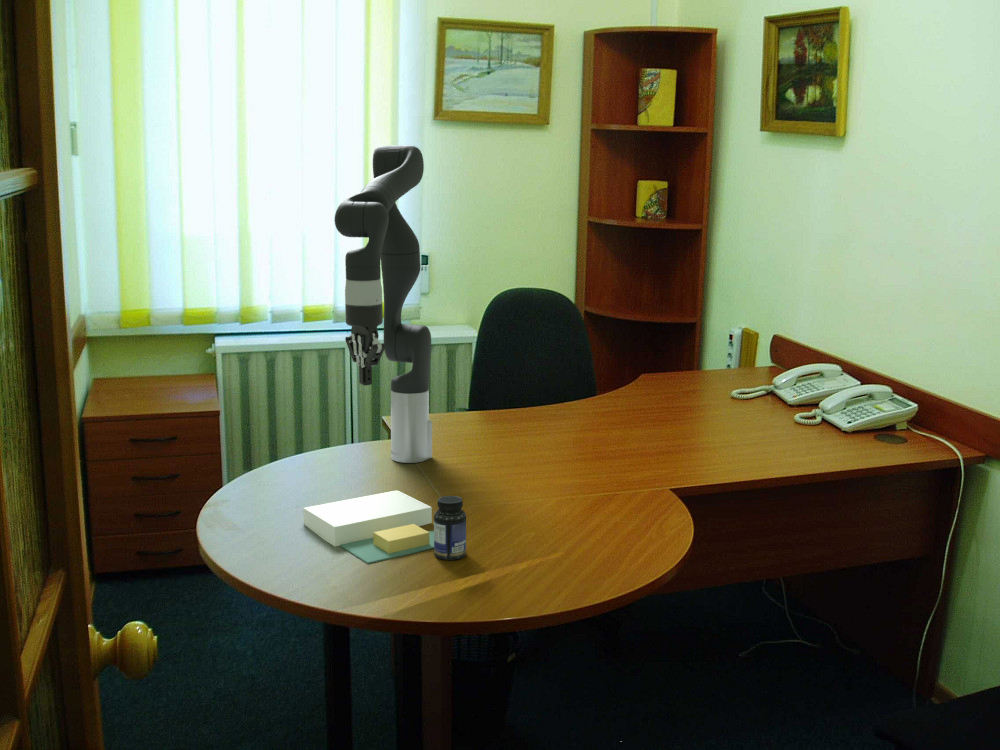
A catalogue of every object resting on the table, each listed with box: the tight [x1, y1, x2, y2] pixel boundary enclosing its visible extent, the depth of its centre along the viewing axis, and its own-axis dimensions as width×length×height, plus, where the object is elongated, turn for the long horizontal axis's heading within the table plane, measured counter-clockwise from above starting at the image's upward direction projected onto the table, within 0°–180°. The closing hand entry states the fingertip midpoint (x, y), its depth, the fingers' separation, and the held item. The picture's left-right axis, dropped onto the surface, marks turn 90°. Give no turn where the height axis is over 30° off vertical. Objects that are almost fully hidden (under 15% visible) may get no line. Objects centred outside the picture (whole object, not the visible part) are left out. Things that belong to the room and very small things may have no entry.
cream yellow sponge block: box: [373, 524, 430, 553], centre depth 185 cm, size 9×6×2 cm, turn 126°
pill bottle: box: [433, 495, 467, 561], centre depth 180 cm, size 6×6×11 cm
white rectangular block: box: [303, 489, 433, 548], centre depth 196 cm, size 22×14×4 cm, turn 126°
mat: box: [339, 530, 434, 565], centre depth 186 cm, size 20×11×1 cm, turn 126°
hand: (365, 384), depth 198 cm, fingers closed
